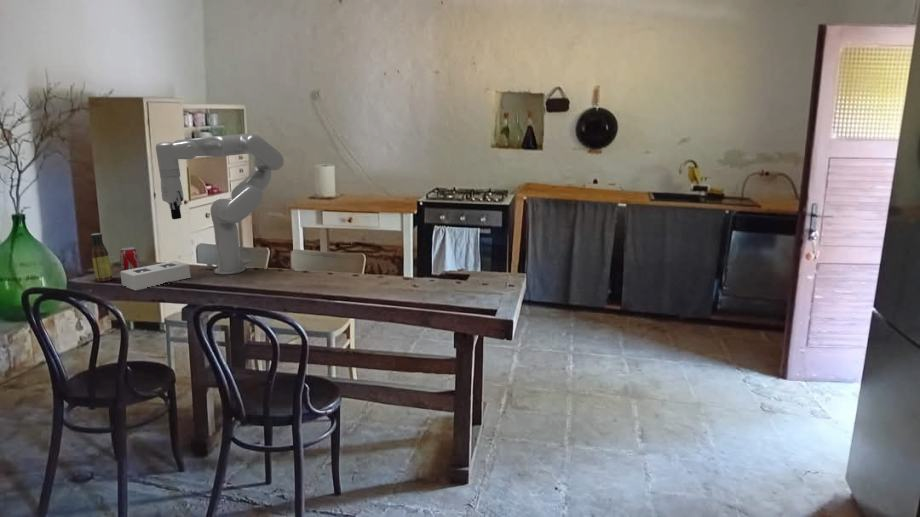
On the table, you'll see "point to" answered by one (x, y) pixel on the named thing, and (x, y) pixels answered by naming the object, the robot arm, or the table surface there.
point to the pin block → (154, 275)
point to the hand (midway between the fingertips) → (176, 218)
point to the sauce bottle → (100, 259)
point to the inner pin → (168, 265)
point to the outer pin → (141, 270)
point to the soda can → (129, 258)
